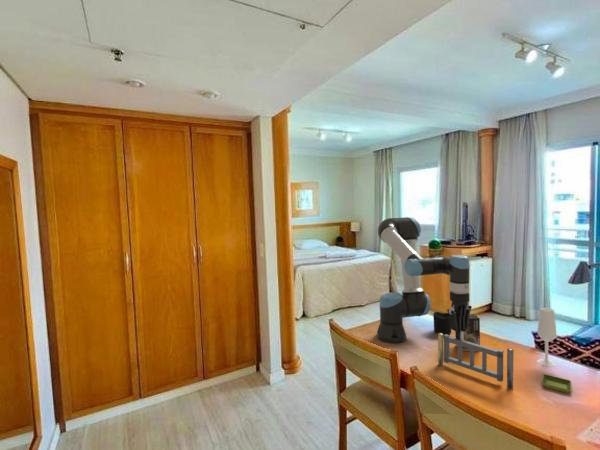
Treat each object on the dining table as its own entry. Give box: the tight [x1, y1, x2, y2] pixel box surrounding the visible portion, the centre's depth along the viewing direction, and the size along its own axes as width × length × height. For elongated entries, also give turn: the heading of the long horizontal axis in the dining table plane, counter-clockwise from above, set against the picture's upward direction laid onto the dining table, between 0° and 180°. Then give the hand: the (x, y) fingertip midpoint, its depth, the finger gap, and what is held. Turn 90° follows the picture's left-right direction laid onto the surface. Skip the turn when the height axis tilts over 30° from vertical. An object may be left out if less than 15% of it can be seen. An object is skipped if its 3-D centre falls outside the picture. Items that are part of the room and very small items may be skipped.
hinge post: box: [506, 348, 514, 390], centre depth 124 cm, size 2×2×15 cm
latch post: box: [437, 333, 444, 367], centre depth 143 cm, size 2×2×14 cm
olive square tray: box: [541, 373, 572, 394], centre depth 125 cm, size 9×9×2 cm
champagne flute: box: [536, 307, 557, 368], centre depth 141 cm, size 7×7×24 cm
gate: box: [443, 334, 504, 383], centre depth 135 cm, size 23×2×12 cm, turn 41°
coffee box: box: [455, 313, 481, 352], centre depth 158 cm, size 9×6×16 cm
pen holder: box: [432, 311, 452, 336], centre depth 179 cm, size 9×9×10 cm
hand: (459, 345), depth 140 cm, fingers closed
